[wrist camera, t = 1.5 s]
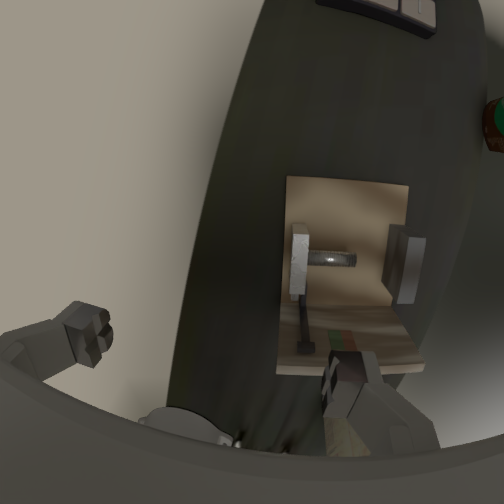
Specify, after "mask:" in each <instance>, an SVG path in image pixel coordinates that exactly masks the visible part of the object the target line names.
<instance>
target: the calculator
mask: <svg viewBox="0 0 504 504" xmlns="http://www.w3.org/2000/svg"><path fill="white" fill-rule="evenodd" d="M316 3H317V4H318V5H323V6H327V7H331V8H336V9H340V10H344V11H348V12H355V13H358V14H361V15H364V16H367V17H370V18H373V19H376V20H379V21H382V22H384V23H387V24H390V25H392V26H395V27H397V28H400V29H403V30H405V31H408V32H410V33H413V34H415V35H417V36H420V37H422V38H424V39H428V38H430V37H431V36H432V35H434V34H435V33H436V32H437V17H436V0H316Z"/></svg>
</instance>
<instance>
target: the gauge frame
mask: <svg viewBox="0 0 504 504" xmlns="http://www.w3.org/2000/svg"><path fill="white" fill-rule="evenodd" d="M408 187H409V186H405V185H398V184H389V183H380V182H371V181H361V180H349V179H337V178H324V177H308V176H288V175H287V183H286V211H285V234H284V254H283V273H282V290H281V306H280V324H279V340H278V355H277V369H276V374H288V375H322V376H323V373H324V369H325V367H326V366H328V365H329V362H328V357H329V354H330V351H331V350H332V349H336V350H349V351H373V352H374V353H375V355H376V358H377V361H378V365H379V368H380V372H381V374H397V373H410V372H421V371H423V368H424V366H425V362H424V360H423V358H422V356H421V355H420V353H419V351H418V349H417V348H416V346H415V344H414V343H413V341H412V339H411V338H410V336H409V334H408V333H407V331H406V329H405V328H404V326H403V325H402V323H401V321H400V320H399V318H398V317H397V315H396V313H395V312H394V310H393V309H392V307H391V303H392V298H393V299H394V300H395V302H396V303H397V304H413V303H414V299H415V295H416V291H417V286H418V281H419V277H420V272H421V267H422V261H423V256H424V250H425V244H426V238H425V237H423V236H422V235H420V234H419V233H417V232H415V231H414V230H412V229H410V228H409V227H407V226H405V218H406V209H407V199H408ZM292 223H303V224H306V226H307V229H308V232H309V247H308V250H323V251H343V252H356V254H357V263H356V267H355V268H353V267H331V266H310V265H307V272H306V280H307V284H308V287H307V298H306V307H307V316H308V325H309V334H310V342H315V353H300V352H297V341H301V333H300V316H299V299H300V294H299V297H298V301H292V300H291V294H289V269H290V252H291V234H292Z"/></svg>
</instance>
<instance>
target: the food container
mask: <svg viewBox="0 0 504 504" xmlns="http://www.w3.org/2000/svg"><path fill="white" fill-rule="evenodd" d="M482 126H483V133H484V138H485V141H486V144H487V146H488V148H489V150H490V151H495V152H501V153H504V97H501V98H499V99H496V100H493V101H490V102H489V103H488V104H487V105H486V107H485V109H484V112H483V118H482Z"/></svg>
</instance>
